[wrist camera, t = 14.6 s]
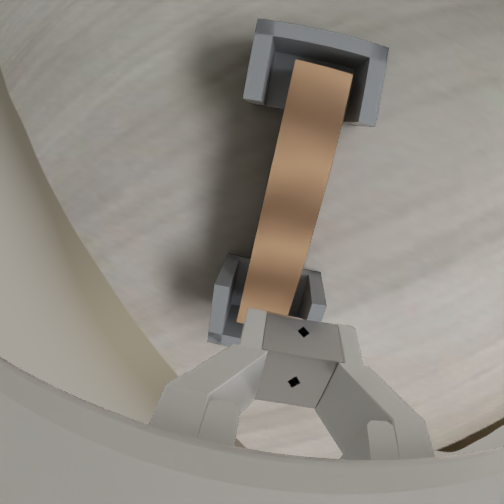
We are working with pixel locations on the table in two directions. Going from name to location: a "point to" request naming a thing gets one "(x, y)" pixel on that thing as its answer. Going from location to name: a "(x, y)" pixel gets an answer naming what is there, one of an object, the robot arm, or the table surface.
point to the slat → (295, 185)
